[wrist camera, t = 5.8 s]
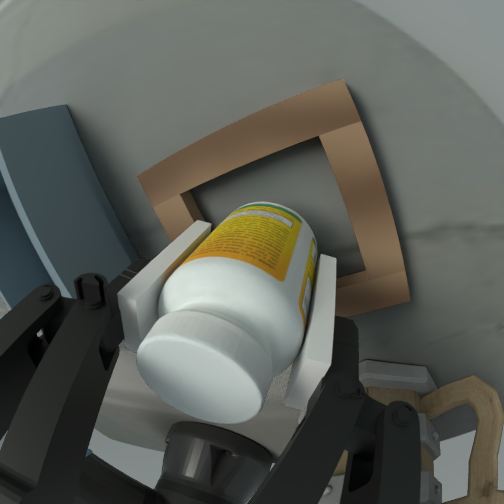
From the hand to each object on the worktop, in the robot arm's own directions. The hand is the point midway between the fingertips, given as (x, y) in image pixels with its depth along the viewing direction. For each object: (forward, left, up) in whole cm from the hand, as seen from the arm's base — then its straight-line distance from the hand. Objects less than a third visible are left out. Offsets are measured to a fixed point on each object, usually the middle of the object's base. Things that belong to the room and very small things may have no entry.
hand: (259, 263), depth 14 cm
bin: (+8, +18, -4) cm, 20 cm away
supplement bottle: (0, 0, -2) cm, 2 cm away
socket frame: (0, 0, -4) cm, 4 cm away
